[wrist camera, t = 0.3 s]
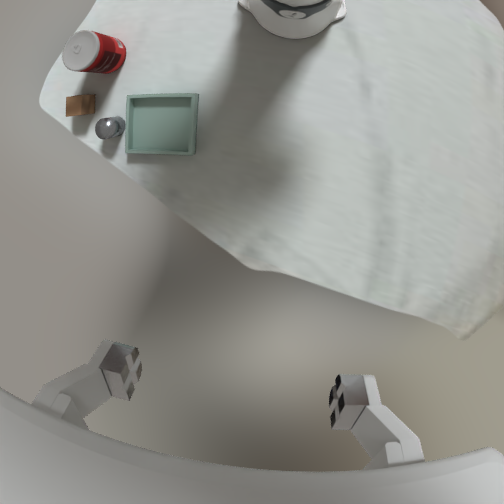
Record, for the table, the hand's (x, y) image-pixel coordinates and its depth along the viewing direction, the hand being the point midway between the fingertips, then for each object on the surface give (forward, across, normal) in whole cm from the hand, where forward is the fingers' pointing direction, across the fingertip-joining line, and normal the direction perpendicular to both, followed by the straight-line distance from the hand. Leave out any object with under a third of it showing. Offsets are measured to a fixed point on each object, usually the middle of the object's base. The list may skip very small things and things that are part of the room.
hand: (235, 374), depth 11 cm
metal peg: (+47, +31, -5) cm, 56 cm away
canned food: (+47, +33, -20) cm, 61 cm away
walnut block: (+47, +38, -10) cm, 61 cm away
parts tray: (+47, +21, -6) cm, 52 cm away
